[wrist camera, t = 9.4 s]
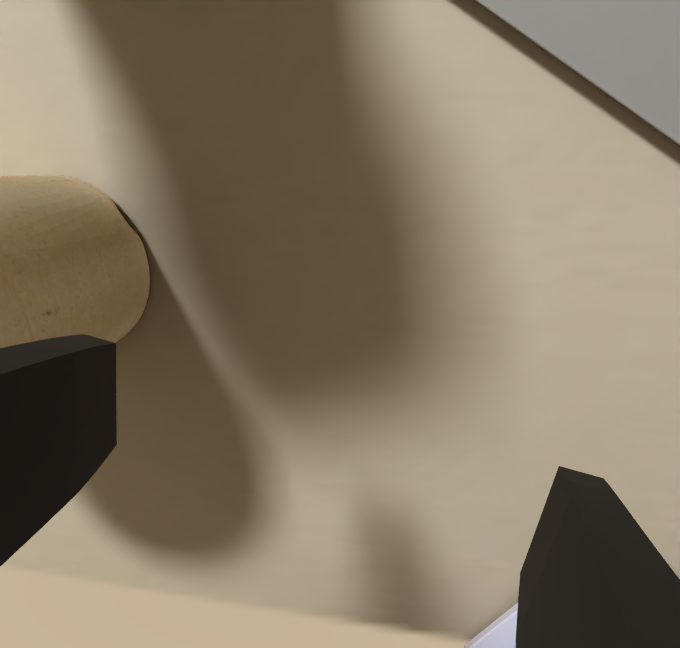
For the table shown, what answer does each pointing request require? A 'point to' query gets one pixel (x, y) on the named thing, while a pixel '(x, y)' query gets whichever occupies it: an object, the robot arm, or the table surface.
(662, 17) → the plate
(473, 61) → the table surface
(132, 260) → the flower pot
